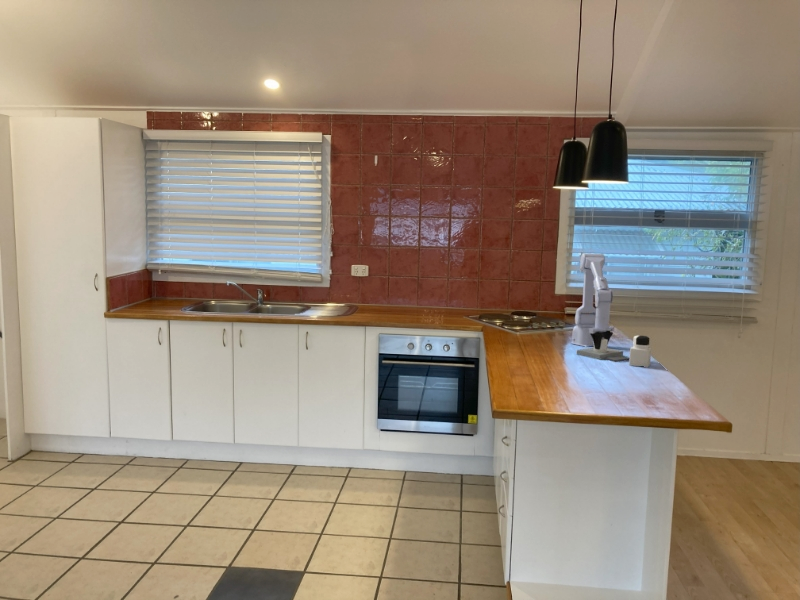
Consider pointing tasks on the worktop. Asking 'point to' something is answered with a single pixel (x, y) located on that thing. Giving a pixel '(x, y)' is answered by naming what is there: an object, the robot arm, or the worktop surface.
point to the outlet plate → (597, 355)
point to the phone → (617, 358)
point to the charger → (602, 346)
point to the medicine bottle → (640, 351)
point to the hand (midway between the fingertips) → (600, 348)
